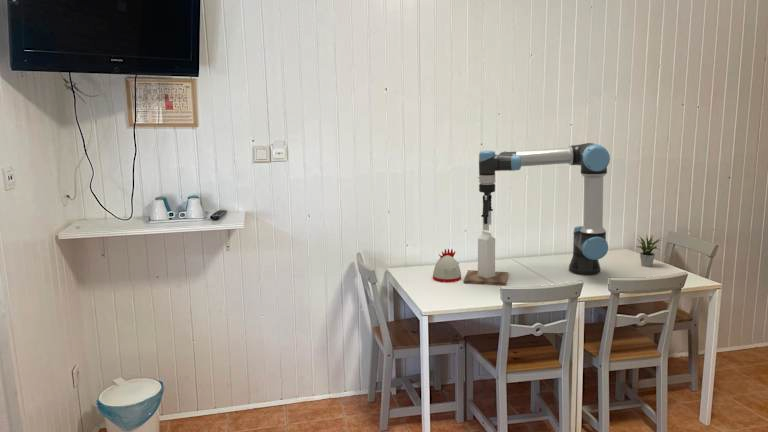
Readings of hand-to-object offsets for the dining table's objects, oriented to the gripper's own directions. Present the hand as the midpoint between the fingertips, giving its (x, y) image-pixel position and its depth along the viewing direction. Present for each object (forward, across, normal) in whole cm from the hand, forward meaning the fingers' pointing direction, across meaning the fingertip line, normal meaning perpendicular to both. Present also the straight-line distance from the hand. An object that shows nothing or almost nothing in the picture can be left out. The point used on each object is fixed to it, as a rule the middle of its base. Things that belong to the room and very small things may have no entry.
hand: (487, 227), depth 299 cm
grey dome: (+26, +2, -20) cm, 33 cm away
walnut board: (+26, 0, -1) cm, 26 cm away
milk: (+24, 0, 0) cm, 25 cm away
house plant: (+27, -37, +78) cm, 91 cm away
